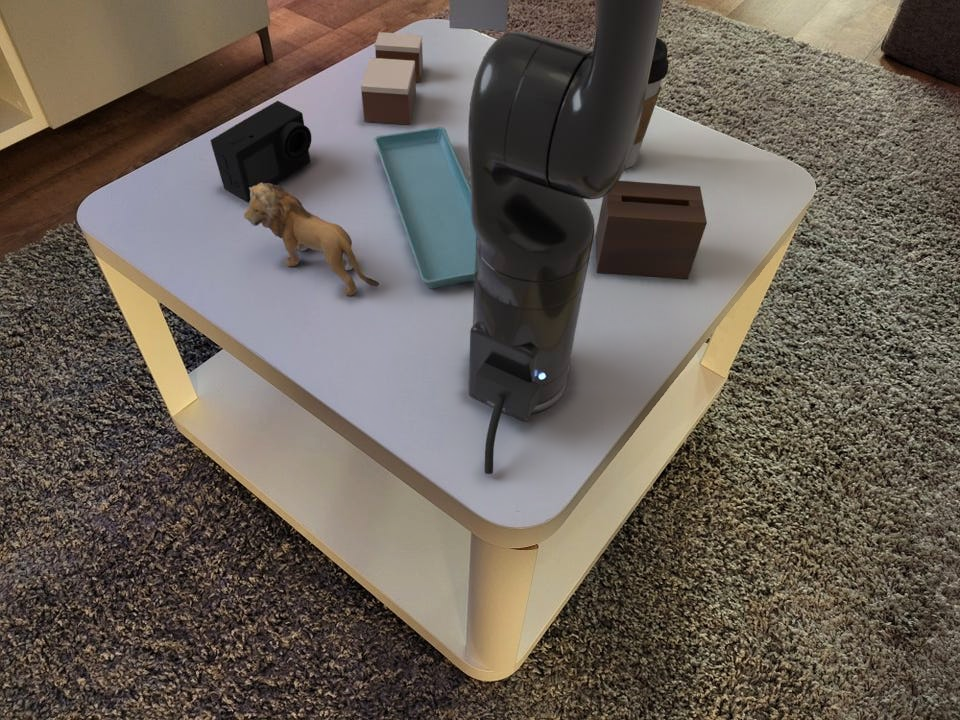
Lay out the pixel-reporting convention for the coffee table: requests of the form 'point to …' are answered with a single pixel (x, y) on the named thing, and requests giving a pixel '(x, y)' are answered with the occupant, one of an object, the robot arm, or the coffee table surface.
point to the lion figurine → (303, 231)
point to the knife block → (650, 229)
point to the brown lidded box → (389, 91)
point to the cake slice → (401, 49)
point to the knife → (478, 14)
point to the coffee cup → (650, 96)
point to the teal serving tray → (431, 203)
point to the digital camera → (262, 149)
